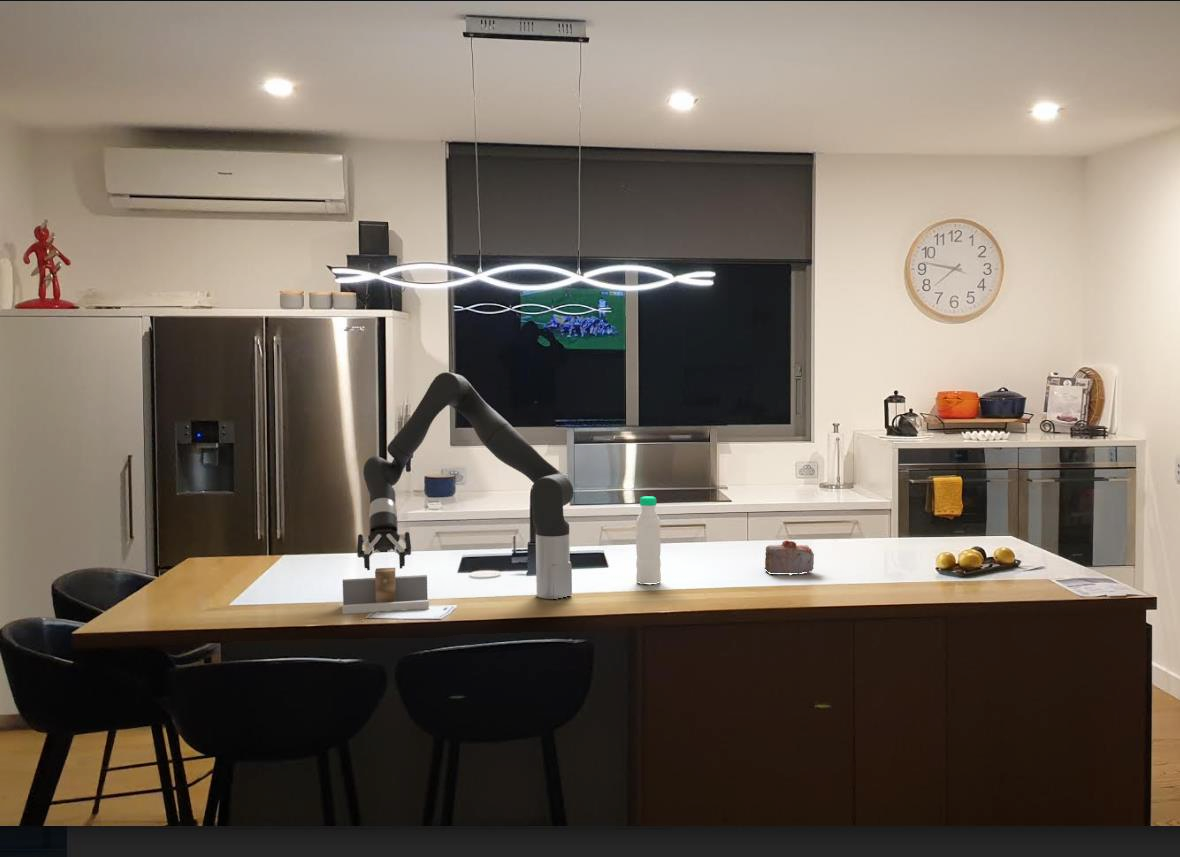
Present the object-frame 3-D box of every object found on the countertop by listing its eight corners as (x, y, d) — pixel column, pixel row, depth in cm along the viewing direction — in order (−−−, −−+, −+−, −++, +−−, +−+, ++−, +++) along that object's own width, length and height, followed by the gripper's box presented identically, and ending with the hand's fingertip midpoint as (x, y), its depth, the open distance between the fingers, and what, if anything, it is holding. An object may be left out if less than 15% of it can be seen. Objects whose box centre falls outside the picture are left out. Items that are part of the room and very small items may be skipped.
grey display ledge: (427, 600, 268) (426, 574, 268) (428, 608, 259) (428, 582, 259) (343, 605, 264) (342, 579, 263) (342, 614, 255) (341, 587, 254)
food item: (807, 569, 301) (807, 537, 300) (815, 575, 293) (815, 542, 292) (763, 570, 300) (763, 538, 299) (769, 576, 292) (769, 543, 292)
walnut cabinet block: (396, 604, 264) (395, 567, 263) (395, 609, 259) (394, 571, 258) (377, 605, 263) (376, 568, 263) (375, 610, 258) (374, 572, 258)
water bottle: (659, 579, 290) (659, 495, 288) (662, 585, 283) (661, 498, 281) (635, 580, 289) (634, 495, 287) (637, 585, 282) (636, 499, 280)
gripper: (356, 511, 270) (356, 561, 260) (409, 509, 273) (412, 558, 263) (357, 527, 275) (357, 577, 265) (409, 525, 278) (411, 573, 268)
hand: (384, 567), depth 264 cm, fingers open, 8 cm apart
